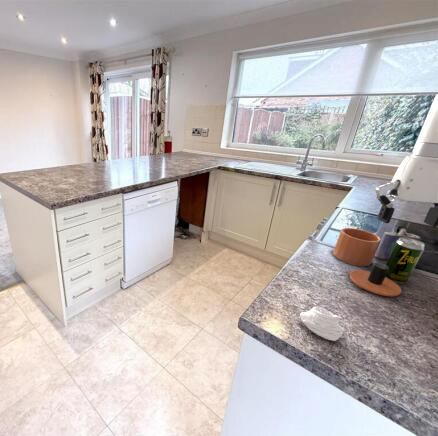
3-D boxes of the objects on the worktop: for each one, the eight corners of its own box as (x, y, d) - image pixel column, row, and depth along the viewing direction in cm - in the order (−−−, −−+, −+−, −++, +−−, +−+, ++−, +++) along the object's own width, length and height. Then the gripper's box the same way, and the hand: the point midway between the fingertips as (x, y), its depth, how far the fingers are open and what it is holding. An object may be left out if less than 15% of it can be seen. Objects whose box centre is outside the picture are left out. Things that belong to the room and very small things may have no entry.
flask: (376, 258, 80) (389, 229, 76) (371, 254, 83) (384, 225, 78) (410, 263, 78) (426, 233, 74) (404, 259, 80) (419, 229, 76)
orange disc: (383, 276, 71) (391, 258, 69) (410, 301, 61) (421, 281, 59) (341, 271, 73) (348, 253, 71) (361, 294, 64) (370, 274, 61)
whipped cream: (295, 328, 54) (298, 312, 52) (302, 310, 58) (306, 294, 56) (340, 348, 49) (346, 330, 47) (344, 326, 53) (350, 309, 51)
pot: (360, 252, 84) (369, 229, 81) (377, 268, 75) (389, 243, 72) (328, 248, 86) (335, 226, 83) (341, 263, 77) (350, 239, 74)
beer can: (377, 271, 73) (393, 235, 69) (399, 275, 72) (417, 238, 67) (387, 282, 69) (405, 244, 64) (410, 286, 67) (431, 248, 62)
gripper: (470, 150, 55) (435, 220, 62) (381, 148, 59) (357, 214, 65) (507, 155, 49) (463, 233, 55) (403, 152, 52) (374, 225, 59)
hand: (406, 222), depth 60 cm, fingers open, 9 cm apart
